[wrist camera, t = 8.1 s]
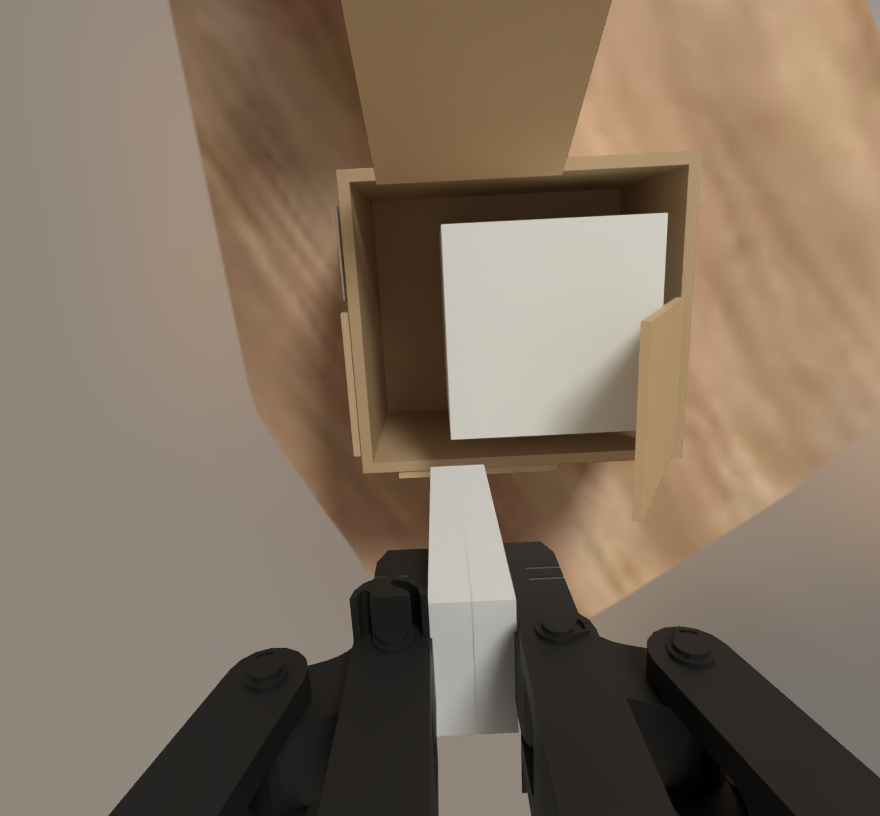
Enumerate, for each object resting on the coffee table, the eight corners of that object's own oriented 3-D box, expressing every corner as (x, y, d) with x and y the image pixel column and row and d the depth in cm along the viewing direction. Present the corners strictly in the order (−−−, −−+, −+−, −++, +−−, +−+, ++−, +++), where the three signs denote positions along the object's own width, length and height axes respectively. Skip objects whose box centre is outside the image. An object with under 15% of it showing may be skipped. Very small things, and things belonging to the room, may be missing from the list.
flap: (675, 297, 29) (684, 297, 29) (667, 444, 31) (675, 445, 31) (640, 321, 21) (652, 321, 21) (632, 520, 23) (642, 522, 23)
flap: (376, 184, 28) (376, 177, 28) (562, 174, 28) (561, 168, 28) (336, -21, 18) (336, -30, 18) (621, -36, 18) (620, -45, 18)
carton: (354, 193, 39) (308, 157, 24) (628, 179, 39) (742, 134, 24) (374, 425, 43) (343, 510, 29) (620, 413, 43) (713, 492, 29)
